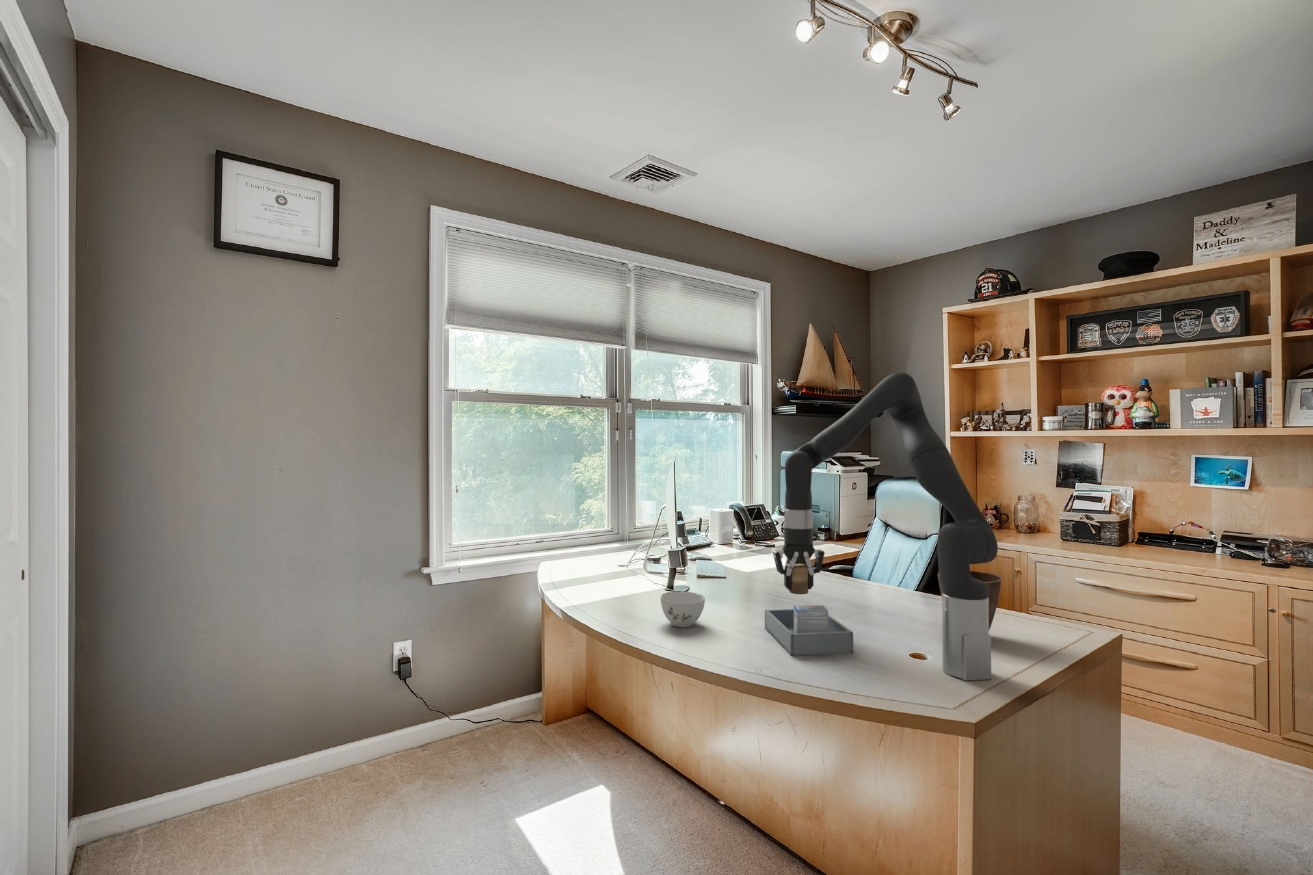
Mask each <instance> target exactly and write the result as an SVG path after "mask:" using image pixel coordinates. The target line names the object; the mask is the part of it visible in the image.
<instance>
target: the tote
mask: <svg viewBox="0 0 1313 875" xmlns="http://www.w3.org/2000/svg"><path fill="white" fill-rule="evenodd" d="M764 629H765V630H766V631H767V632H768V633H769V634H770V635H771V636H772V638H773V639H774V640H775V641H776V642H778V644H780V646H781V647H782V648H783V649H784V650H785V651H786V652H787V653H788V655H790V656H793V657H794V656H811V655H813V656H814V655H833V654H834V655H836V654H838V655H839V654H853V653H854V632H853V630H851V629H850V628H848V627H846V626H845V625H843V624H842V623H841V622H840V621H838V620H837V619H835V618H834V617H833V616H832V615H831V614H829V613H828V632H820V633H796V634H794V608H790V609H789V608H784V609H764Z"/></svg>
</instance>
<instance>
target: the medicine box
mask: <svg viewBox="0 0 1313 875" xmlns="http://www.w3.org/2000/svg"><path fill="white" fill-rule="evenodd" d="M793 609H794V634H796V633H820V632H828V614H829V610H828V609H827V607H825V605H818V604H817V605H814V604H812V605H809V604H806V605H805V604H804V605H801V604H799V605H793Z"/></svg>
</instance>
